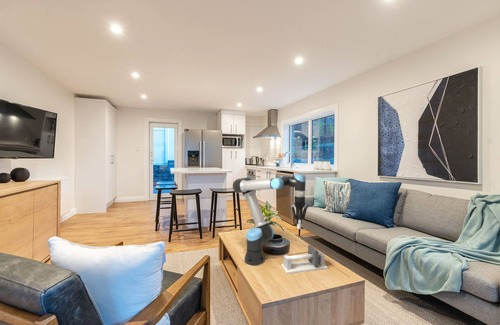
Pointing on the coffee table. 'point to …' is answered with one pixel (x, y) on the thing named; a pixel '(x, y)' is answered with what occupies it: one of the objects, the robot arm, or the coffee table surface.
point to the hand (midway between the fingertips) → (298, 228)
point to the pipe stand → (303, 263)
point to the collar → (315, 255)
